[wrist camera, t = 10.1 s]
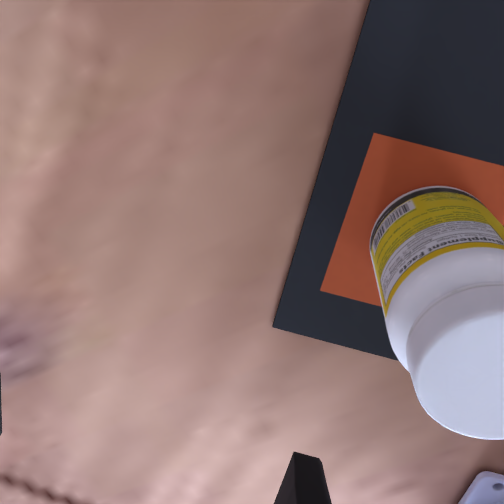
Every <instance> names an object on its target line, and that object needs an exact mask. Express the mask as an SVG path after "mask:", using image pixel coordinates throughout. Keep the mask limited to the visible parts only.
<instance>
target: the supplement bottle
mask: <svg viewBox="0 0 504 504" xmlns="http://www.w3.org/2000/svg"><path fill="white" fill-rule="evenodd" d="M370 255H371V260H372V264H373V268H374V272H375V277H376V281H377V286H378V290H379V295H380V299H381V304H382V308H383V313H384V317H385V323H386V328H387V332H388V336H389V340H390V343H391V346H392V349H393V351H394V353H395V355H396V357H397V358H398V360H399V361H400V362H401V364H402V365H403V366H404V367H405V368H406V369H407V370H408V371H409V372H410V375H411V378H412V382H413V385H414V389H415V392H416V395H417V397H418V400H419V402H420V404H421V405H422V407H423V408H424V409H425V411H426V412H427V413H428V414H429V415H430V416H431V417H432V418H433V419H434V420H435V421H437V422H438V423H439V424H441V425H442V426H444V427H445V428H447V429H449V430H451V431H453V432H456V433H458V434H461V435H464V436H468V437H473V438H478V439H487V440H503V439H504V226H503V225H502V224H501V223H500V222H499V221H498V220H497V219H496V218H495V217H494V216H493V214H492V213H491V212H490V211H489V210H488V209H487V208H486V207H485V206H484V204H482V203H481V202H480V201H479V200H478V199H477V198H475V197H474V196H473V195H471V194H469V193H467V192H465V191H463V190H460V189H457V188H453V187H448V186H428V187H423V188H419V189H416V190H412V191H410V192H408V193H406V194H403V195H402V196H400V197H398V198H397V199H395V200H394V201H393V202H391V203H390V204H389V205H388V206H387V207H386V208H385V209H384V210H383V211H382V213H381V214H380V215H379V217H378V219H377V220H376V222H375V224H374V227H373V230H372V232H371V237H370Z"/></svg>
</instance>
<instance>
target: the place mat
mask: <svg viewBox="0 0 504 504" xmlns="http://www.w3.org/2000/svg"><path fill="white" fill-rule="evenodd" d="M428 186H448V187H453V188H457V189H460V190H463V191H465V192H467V193H469V194H471V195H473V196H474V197H475V198H477V199H478V200H479V201H480V202H481V203H482V204H484V206H485V207H486V208H487V209H488V210H489V211H490V212H491V213H492V214H493V216H494V217H495V218H496V219H497V220H498V221H499V222H500V223H501V224H502V225H503V226H504V0H370V3H369V6H368V10H367V13H366V16H365V20H364V23H363V26H362V30H361V33H360V36H359V40H358V43H357V46H356V50H355V53H354V56H353V60H352V63H351V66H350V70H349V73H348V76H347V80H346V83H345V86H344V90H343V93H342V96H341V100H340V103H339V106H338V110H337V113H336V116H335V120H334V123H333V126H332V129H331V133H330V136H329V139H328V143H327V146H326V149H325V153H324V156H323V159H322V163H321V166H320V169H319V173H318V176H317V179H316V183H315V186H314V189H313V193H312V196H311V199H310V203H309V206H308V209H307V213H306V216H305V219H304V223H303V226H302V229H301V233H300V236H299V239H298V243H297V246H296V249H295V253H294V256H293V259H292V263H291V266H290V269H289V273H288V276H287V279H286V283H285V286H284V289H283V293H282V296H281V299H280V303H279V306H278V309H277V313H276V316H275V319H274V323H273V327H274V328H277V329H281V330H285V331H289V332H293V333H296V334H300V335H304V336H308V337H311V338H315V339H319V340H323V341H326V342H330V343H334V344H338V345H341V346H345V347H349V348H353V349H357V350H360V351H364V352H368V353H372V354H375V355H379V356H383V357H387V358H390V359H394V360H398V358H397V357H396V355H395V353H394V351H393V349H392V346H391V343H390V340H389V336H388V332H387V328H386V323H385V317H384V313H383V308H382V304H381V299H380V295H379V290H378V286H377V281H376V277H375V272H374V268H373V264H372V260H371V255H370V237H371V232H372V230H373V227H374V224H375V222H376V220H377V219H378V217H379V215H380V214H381V213H382V211H383V210H384V209H385V208H386V207H387V206H388V205H389V204H390V203H391V202H393V201H394V200H395V199H397V198H398V197H400V196H402V195H403V194H406V193H408V192H410V191H412V190H416V189H419V188H423V187H428ZM398 361H399V360H398Z"/></svg>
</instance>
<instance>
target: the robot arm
mask: <svg viewBox="0 0 504 504" xmlns="http://www.w3.org/2000/svg"><path fill="white" fill-rule="evenodd" d="M1 433H2V412H1V375H0V435H1ZM274 504H332V503H331V499H330V495H329V491H328V487H327V483H326V479H325V475H324V470H323V465H322V462H321V461H320V459H319V458H316V457H312V456H308V455H305V454H301V453H297V452H294V453H293V455H292V458H291V460H290V463H289V466H288V468H287V471H286V473H285V476H284V479H283V481H282V484H281V487H280V489H279V492H278V494H277V497H276V500H275V502H274ZM458 504H504V475H501V474H497V473H494V472H490V471H484V472H481V473H479V474H478V475H477V476H476V478H475V479H474V481H473V482H472V484H471V485H470V487H469V488H468V490H467V491H466V493H465V494H464V496H463V497H462V499H461V500H460V502H459V503H458Z"/></svg>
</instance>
